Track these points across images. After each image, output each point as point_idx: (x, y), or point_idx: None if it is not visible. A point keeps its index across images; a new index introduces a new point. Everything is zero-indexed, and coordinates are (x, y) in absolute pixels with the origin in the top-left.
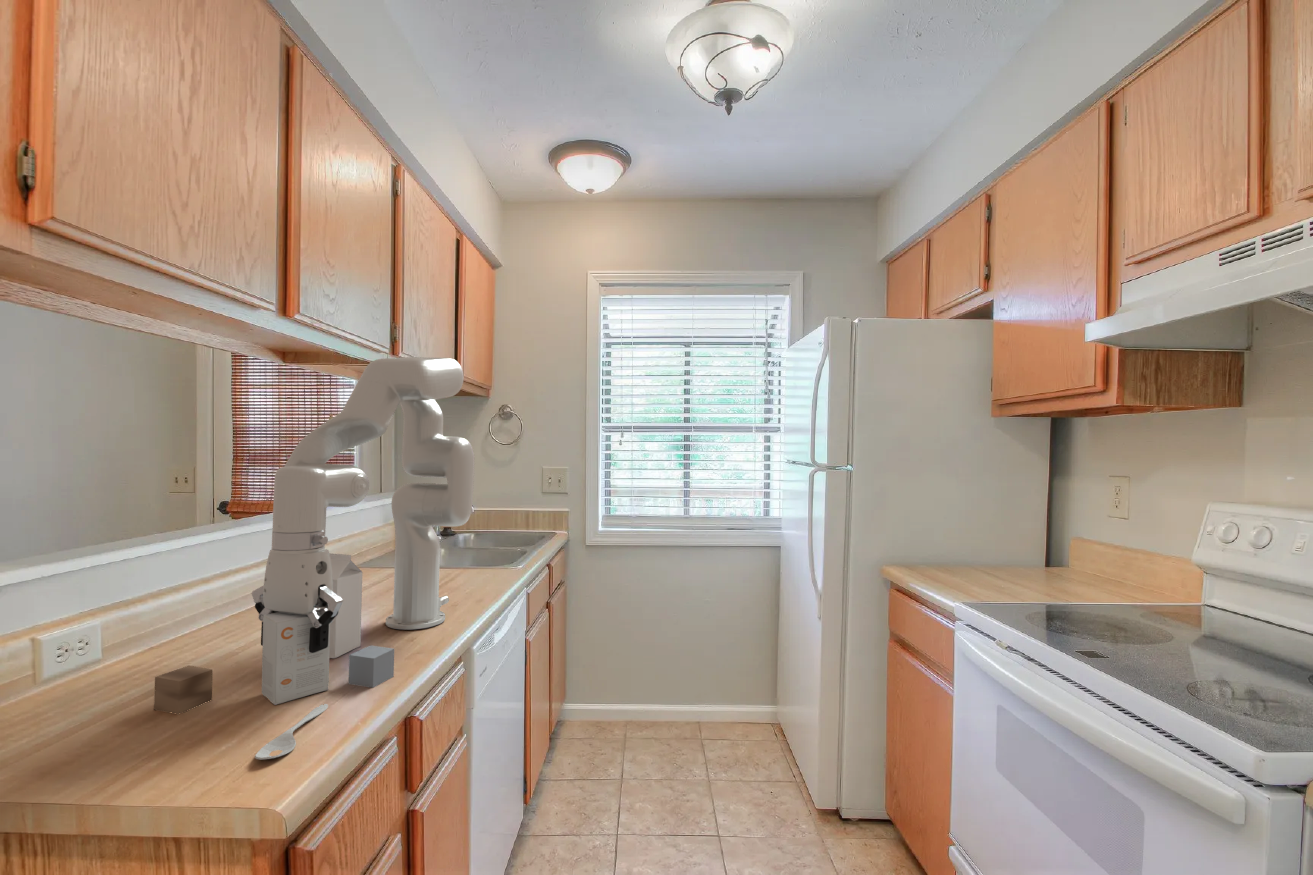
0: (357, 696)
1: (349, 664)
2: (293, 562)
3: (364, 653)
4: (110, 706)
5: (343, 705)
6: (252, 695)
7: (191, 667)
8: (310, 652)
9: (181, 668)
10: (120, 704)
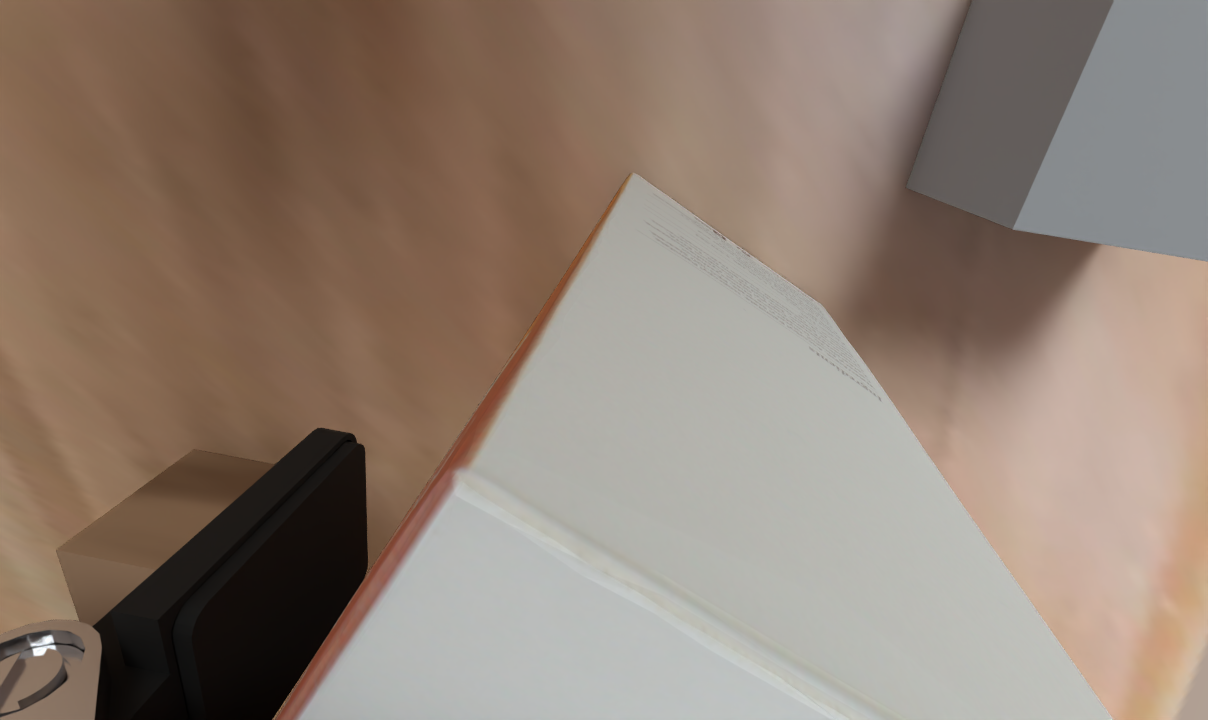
0: (1049, 356)
1: (971, 210)
2: None
3: (1176, 162)
4: (46, 549)
5: (1008, 462)
6: (458, 411)
7: (106, 574)
8: None
9: (77, 589)
10: (55, 533)
